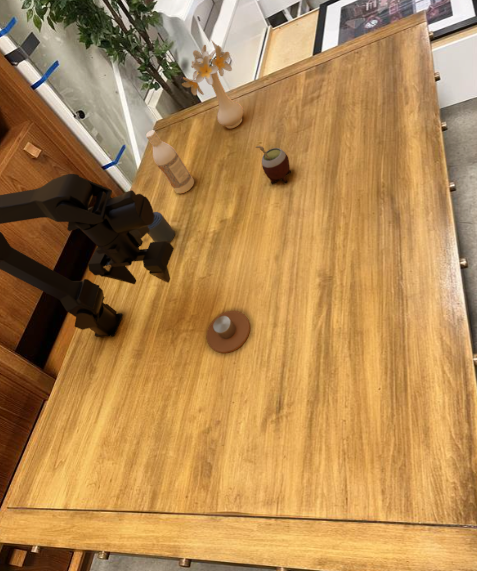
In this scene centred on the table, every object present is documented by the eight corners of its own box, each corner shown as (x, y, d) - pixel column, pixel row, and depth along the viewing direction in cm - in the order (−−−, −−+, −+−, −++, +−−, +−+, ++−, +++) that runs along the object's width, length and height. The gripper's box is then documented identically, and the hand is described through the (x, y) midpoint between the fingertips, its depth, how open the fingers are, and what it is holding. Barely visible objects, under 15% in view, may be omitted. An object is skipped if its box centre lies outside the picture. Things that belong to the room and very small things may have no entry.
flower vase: (207, 143, 133) (169, 73, 115) (230, 108, 141) (198, 38, 122) (238, 141, 126) (203, 66, 108) (261, 105, 133) (232, 29, 115)
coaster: (245, 353, 79) (244, 352, 79) (203, 352, 84) (201, 351, 83) (253, 311, 85) (252, 309, 84) (213, 312, 89) (212, 311, 89)
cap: (235, 337, 82) (229, 331, 80) (218, 340, 83) (212, 334, 81) (236, 321, 84) (231, 314, 82) (219, 324, 86) (214, 317, 83)
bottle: (171, 244, 109) (149, 217, 101) (152, 246, 112) (130, 220, 104) (177, 227, 113) (156, 200, 105) (159, 230, 116) (138, 203, 107)
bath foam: (173, 186, 126) (138, 134, 111) (192, 175, 126) (158, 121, 111) (177, 197, 122) (141, 145, 107) (197, 186, 121) (162, 131, 106)
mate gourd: (286, 165, 109) (268, 118, 98) (299, 178, 104) (282, 130, 93) (263, 179, 109) (243, 134, 98) (275, 193, 104) (255, 147, 93)
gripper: (161, 198, 74) (198, 249, 86) (89, 209, 82) (131, 255, 94) (141, 243, 68) (183, 292, 80) (65, 251, 76) (113, 294, 88)
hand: (151, 281), depth 86 cm, fingers open, 9 cm apart
